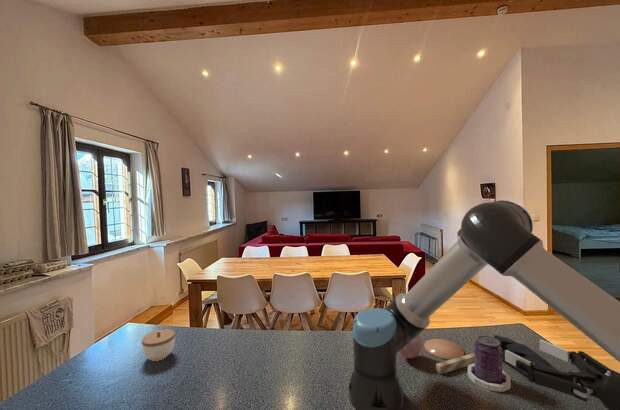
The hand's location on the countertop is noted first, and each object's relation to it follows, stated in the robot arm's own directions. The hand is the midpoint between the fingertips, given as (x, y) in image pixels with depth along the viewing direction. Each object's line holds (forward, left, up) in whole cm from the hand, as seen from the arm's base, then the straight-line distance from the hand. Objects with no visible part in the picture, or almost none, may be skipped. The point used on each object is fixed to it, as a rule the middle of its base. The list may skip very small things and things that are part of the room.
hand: (523, 349), depth 75 cm
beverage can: (+3, +9, -14) cm, 18 cm away
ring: (+3, +9, -14) cm, 17 cm away
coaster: (+9, +26, -14) cm, 31 cm away
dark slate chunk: (+21, +5, -15) cm, 26 cm away
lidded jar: (-71, +92, -15) cm, 117 cm away
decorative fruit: (-5, +31, -14) cm, 35 cm away
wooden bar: (+3, +18, -14) cm, 23 cm away
